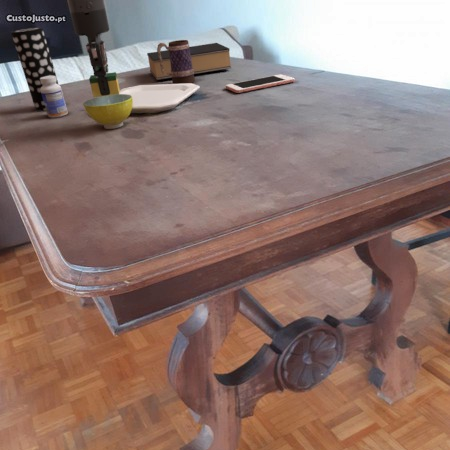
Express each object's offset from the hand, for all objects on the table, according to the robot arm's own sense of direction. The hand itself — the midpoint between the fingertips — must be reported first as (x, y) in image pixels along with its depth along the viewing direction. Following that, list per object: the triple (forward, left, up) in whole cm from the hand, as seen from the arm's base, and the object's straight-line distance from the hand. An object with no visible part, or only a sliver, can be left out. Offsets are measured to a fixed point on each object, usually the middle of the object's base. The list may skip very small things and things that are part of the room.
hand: (106, 92), depth 112 cm
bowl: (0, -2, -8) cm, 8 cm away
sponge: (0, 0, 0) cm, 0 cm away
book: (+24, +54, -8) cm, 60 cm away
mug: (+19, +37, -8) cm, 43 cm away
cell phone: (+41, +19, -8) cm, 46 cm away
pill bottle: (-16, +18, -8) cm, 25 cm away
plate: (+9, +17, -8) cm, 21 cm away
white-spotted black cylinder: (-20, +30, -8) cm, 37 cm away
